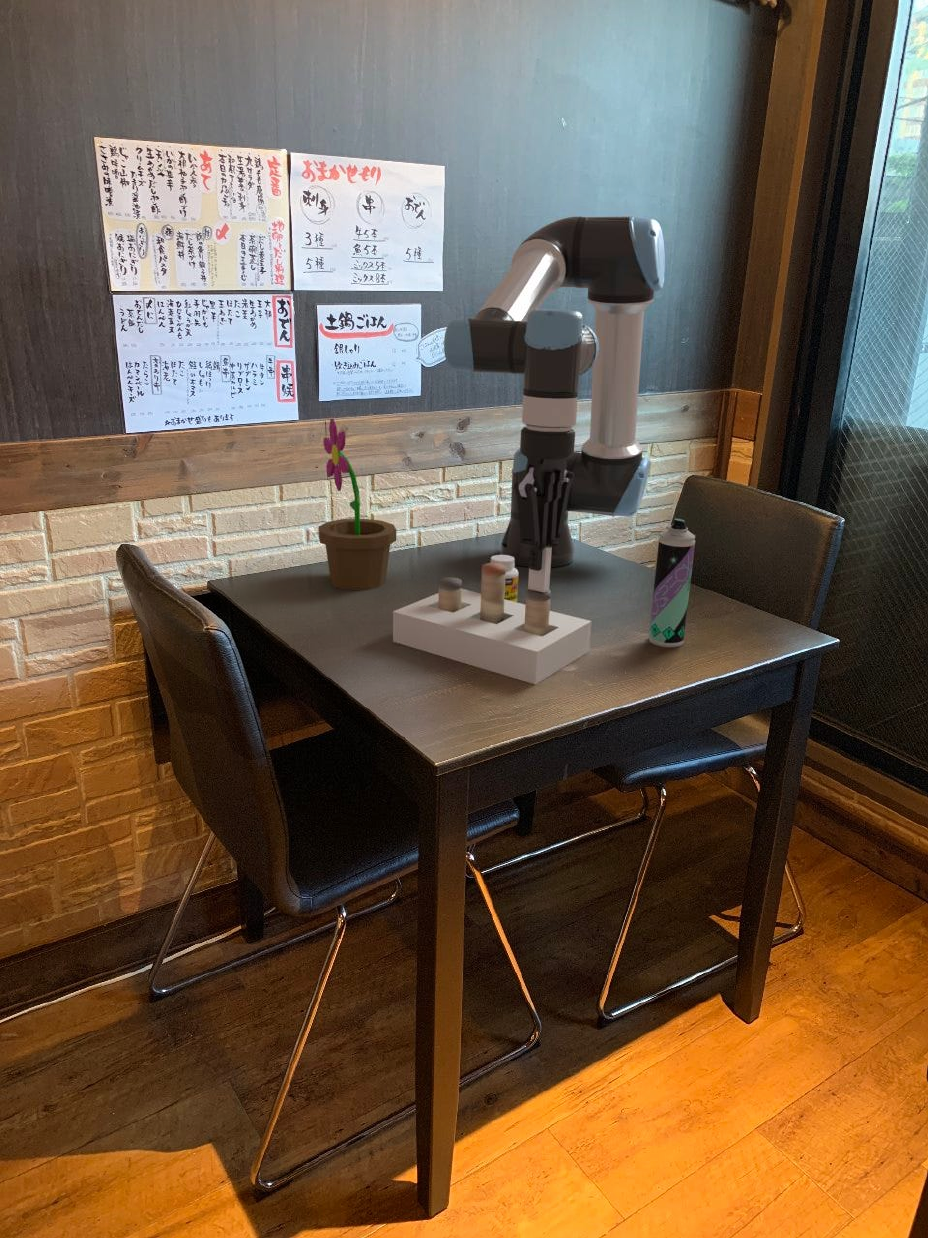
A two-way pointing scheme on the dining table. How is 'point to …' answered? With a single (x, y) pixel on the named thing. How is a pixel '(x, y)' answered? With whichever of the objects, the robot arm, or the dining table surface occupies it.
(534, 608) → the plug
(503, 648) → the socket board
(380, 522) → the flowerpot
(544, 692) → the dining table surface
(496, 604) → the plug
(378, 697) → the dining table surface
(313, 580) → the dining table surface
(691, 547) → the spray can
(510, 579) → the supplement bottle
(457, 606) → the plug
